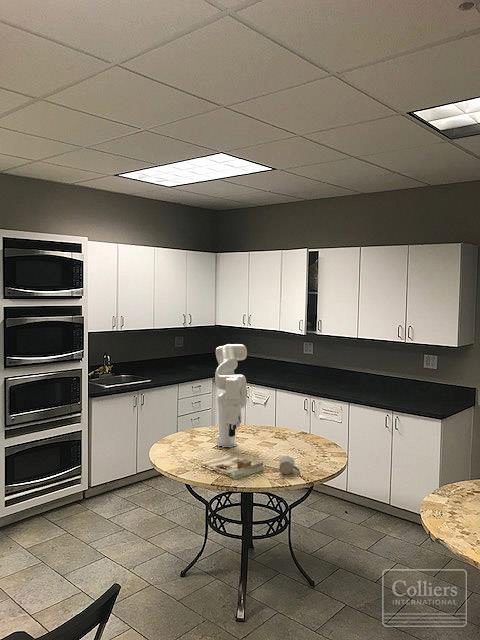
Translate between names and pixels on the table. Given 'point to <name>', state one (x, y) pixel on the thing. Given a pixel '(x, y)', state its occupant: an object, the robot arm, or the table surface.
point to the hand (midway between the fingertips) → (232, 436)
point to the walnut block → (243, 463)
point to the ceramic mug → (288, 466)
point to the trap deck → (232, 466)
